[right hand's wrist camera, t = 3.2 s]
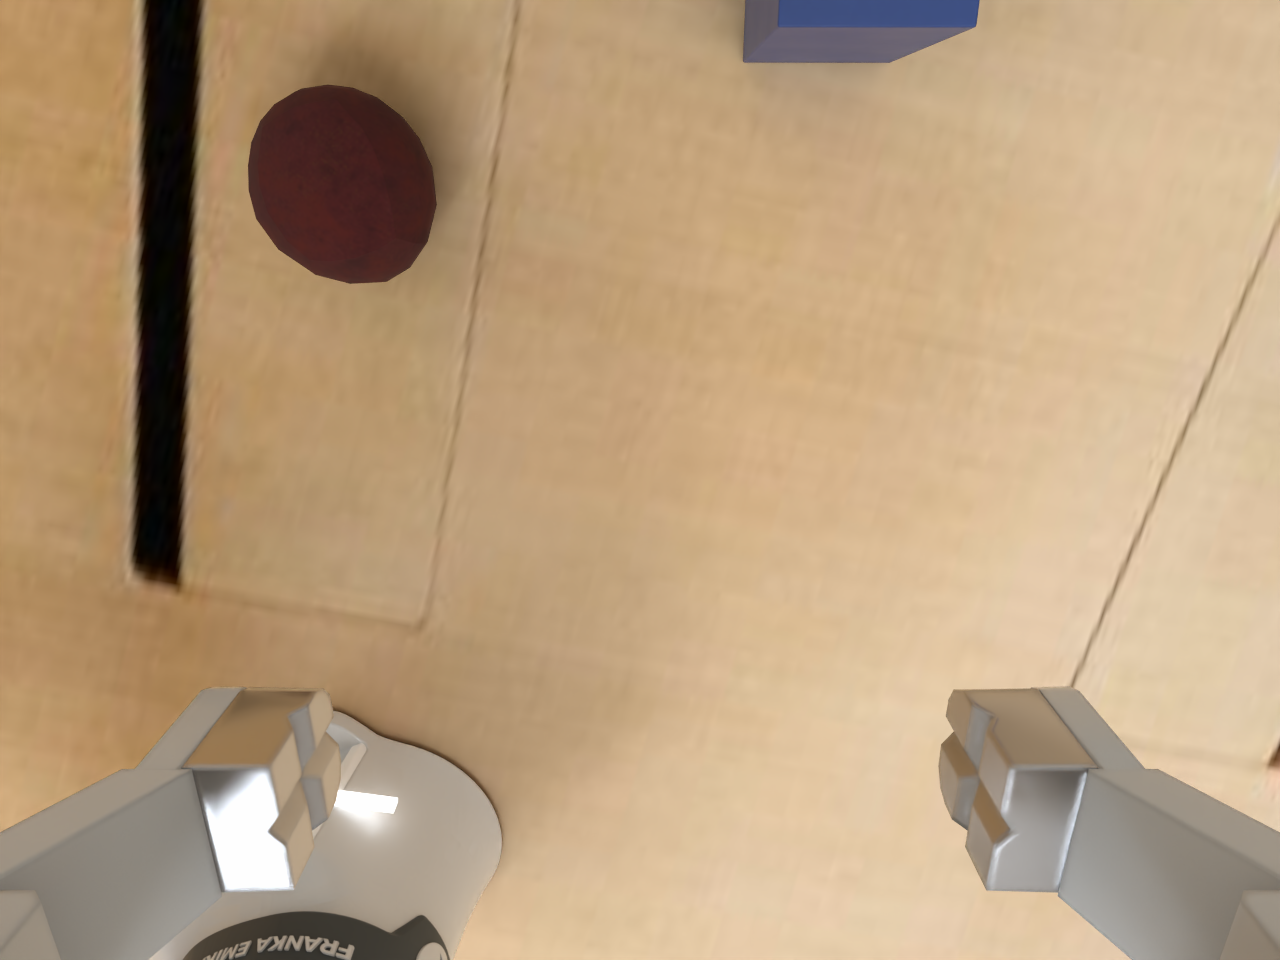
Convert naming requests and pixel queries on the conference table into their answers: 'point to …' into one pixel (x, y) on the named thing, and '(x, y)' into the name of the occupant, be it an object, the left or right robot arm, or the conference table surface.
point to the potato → (342, 184)
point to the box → (850, 28)
